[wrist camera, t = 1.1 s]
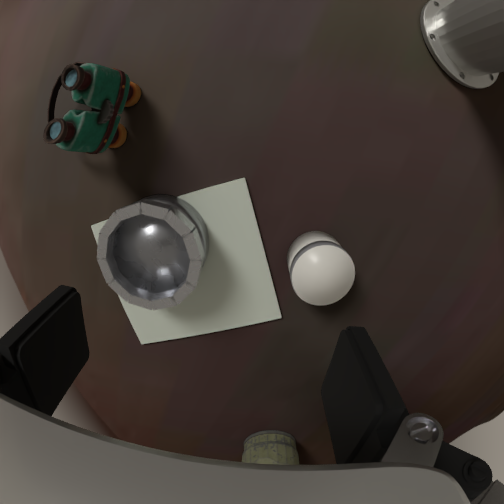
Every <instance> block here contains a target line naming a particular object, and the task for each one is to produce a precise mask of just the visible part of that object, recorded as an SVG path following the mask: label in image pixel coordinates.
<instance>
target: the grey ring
mask: <svg viewBox="0 0 504 504" xmlns="http://www.w3.org/2000/svg"><path fill="white" fill-rule="evenodd" d="M208 252H209V234H208V230H207V227H206V224H205V222H204V220H203V218H202V217H201V215H200V214H199V212H198V211H197V210H196V209H195V208H194V207H193V206H192V205H190V204H189V203H188V202H186V201H185V200H183V199H181V198H179V197H176V196H173V195H167V194H156V195H151V196H147V197H145V198H143V199H141V200H139V201H137V202H134V203H132V204H130V205H127V206H124V207H122V208H120V209H118V210H116V211H115V212H113V214H112V215H111V216H110V218H109V219H108V220H107V222H106V223H105V225H104V226H103V227H102V229H101V230H100V233H99V237H98V249H97V258H99V259H97V261H98V263H99V266H100V268H101V271H102V273H103V275H104V278H105V280H106V283H109V284H108V285H109V286H110V287H111V288H112V289H113V290H114V291H115V292H116V293H117V294H118V295H119V296H120V297H122V298H123V299H124V300H125V301H126V302H127V301H128V303H130V304H133V305H136V306H140V307H143V308H146V309H149V310H152V309H153V310H158V309H163V308H168V307H173V306H177V304H178V305H179V304H180V303H181V302H182V301H183V300H184V299H185V298H186V297H187V296H188V295H189V294H190V293H191V292H192V291H193V290H194V289H195V288H196V286H197V284H198V281H199V279H200V274H201V270H202V268H203V266H204V263H205V261H206V259H207V256H208Z"/></svg>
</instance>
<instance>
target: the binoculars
mask: <svg viewBox="0 0 504 504" xmlns="http://www.w3.org/2000/svg"><path fill="white" fill-rule="evenodd" d="M61 85H63V87H64V88H65V89H66V90H70V91H72V98H73V100H74V101H75V102H78V103H81V104H85V105H87V106H89V107H91V109H92V111H84V110H70V111H69V112H67V113H66V115H65V116H64V118H63V119H60V118H56V119H54V109H55V103H56V98H57V95H58V91H59V89H60V87H61ZM140 96H141V90H140V87H139V86H138V85H137V84H135V83H133V82H130V79H129V77H128V75H127V74H125V73H124V72H122V71H120V70H118V69H115V68H113V69H111V68H107V67H104V66H101V65H97V64H91V63H83V62H76V63H74V64H69V65H67V66H66V67H65V68H64V70H63V72H62V74H61V75H60V76H59V77H58V79H57V81H56V83H55V85H54V87H53V89H52V93H51V96H50V100H49V106H48V125H47V126H46V128H45V130H44V135H43V137H44V141H45V142H46V143H48V144H56V145H57V146H58V147H59V148H61V149H63V150H67V151H76V152H86V153H89V154H97V153H102V152H104V151H105V150H106V149H107V148H117V147H120V146H121V145H122V144H123V143H124V142H125V140H126V137H127V132H126V129H125V127H124V126H123V125H122V124H120V123H119V121H120V116H119V115H117V114H122V112H123V109H124V107H130V106H133V105H134V104H136V103H137V102H138V100H139V99H140Z"/></svg>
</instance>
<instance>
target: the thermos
mask: <svg viewBox="0 0 504 504" xmlns="http://www.w3.org/2000/svg"><path fill="white" fill-rule="evenodd" d="M242 462H244V463H258V464H278V465H299V457H298V452H297V450H296V441H295V438H294V437H293V436H292V435H290V434H288V433H286V432H282V431H277V430H267V431H261V432H257V433H254V434H252V435H250V436H249V437H247V438H246V440H245V441H244V452H243V454H242Z"/></svg>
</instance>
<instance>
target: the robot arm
mask: <svg viewBox="0 0 504 504" xmlns="http://www.w3.org/2000/svg"><path fill="white" fill-rule="evenodd" d="M420 24H421V30H422V34H423V37H424V40H425V43H426V45H427V47H428V49H429V51H430V53H431V54H432V56H433V57H434V59H435V60H436V62H437V63H438V64H439V66H440V67H441V68H442V69H443V70H444V71H445V72H446V73H447V74H448V75H449V76H450V77H451V78H452V79H454V80H455V81H456V82H458V83H460V84H461V85H463V86H466V87H468V88H473V89H481V88H486V87H489V86H491V85H492V84H493V83H494V82H495V81H496V79H497V77H498V75H499V72H504V0H430V1H429V2H428V3H427V4H425V6H424V7H423V9H422V12H421V19H420ZM88 358H89V348H88V342H87V337H86V331H85V325H84V319H83V312H82V305H81V297H80V294H79V293H78V292H77V290H76V289H75V288H73V287H69V286H64V285H61V286H59V287H58V288H57V289H55V290H54V291H53V292H52V293H51V294H49V295H48V296H47V297H46V298H45V299H44V300H42V301H41V302H40V303H39V304H38V305H37V306H35V307H34V308H33V309H32V310H31V311H30V312H29V313H28V314H26V315H25V316H24V317H23V318H22V319H21V320H20V321H19V322H18V323H17V324H15V325H14V327H12V328H11V329H10V330H9V331H8V332H7V333H6V334H5V335H4V336H3V337H2V338H1V339H0V504H504V485H503V484H502V483H501V482H499V481H498V480H496V481H495V482H493V481H492V471H491V469H490V467H489V465H488V464H487V463H486V462H485V461H483V460H482V459H480V458H478V457H476V456H473V455H471V454H469V453H467V452H465V451H463V450H460V449H458V448H456V447H454V446H452V445H450V444H448V443H446V442H444V441H442V440H443V430H442V427H441V425H440V424H439V422H437V421H436V420H435V419H434V418H432V417H431V416H429V415H426V414H423V413H414V414H410V415H409V413H408V411H407V409H406V406H405V404H404V402H403V400H402V398H401V396H400V394H399V392H398V390H397V388H396V386H395V384H394V382H393V380H392V378H391V376H390V374H389V372H388V371H387V369H386V367H385V365H384V363H383V361H382V359H381V357H380V355H379V353H378V351H377V350H376V348H375V346H374V344H373V342H372V340H371V338H370V337H369V335H368V333H367V331H366V329H365V328H364V327H354V326H348V327H347V328H346V330H342V331H341V333H340V336H339V339H338V342H337V345H336V348H335V351H334V354H333V357H332V360H331V363H330V366H329V368H328V371H327V374H326V377H325V379H324V382H323V385H322V389H321V395H322V400H323V404H324V408H325V413H326V417H327V422H328V426H329V431H330V435H331V440H332V444H333V449H334V454H335V458H336V463H337V464H331V465H278V464H258V463H244V462H234V461H224V460H216V459H209V458H202V457H195V456H189V455H183V454H178V453H172V452H167V451H163V450H158V449H153V448H149V447H145V446H141V445H137V444H133V443H129V442H125V441H122V440H118V439H114V438H111V437H108V436H104V435H101V434H98V433H95V432H92V431H89V430H86V429H83V428H80V427H77V426H75V425H72V424H69V423H66V422H64V421H61V420H59V419H56V418H54V417H51V416H52V414H53V413H54V411H55V409H56V408H57V406H58V405H59V403H60V401H61V400H62V398H63V396H64V395H65V394H66V392H67V390H68V389H69V387H70V386H71V384H72V383H73V381H74V380H75V378H76V377H77V375H78V374H79V372H80V371H81V369H82V368H83V366H84V365H85V363H86V362H87V360H88Z"/></svg>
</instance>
